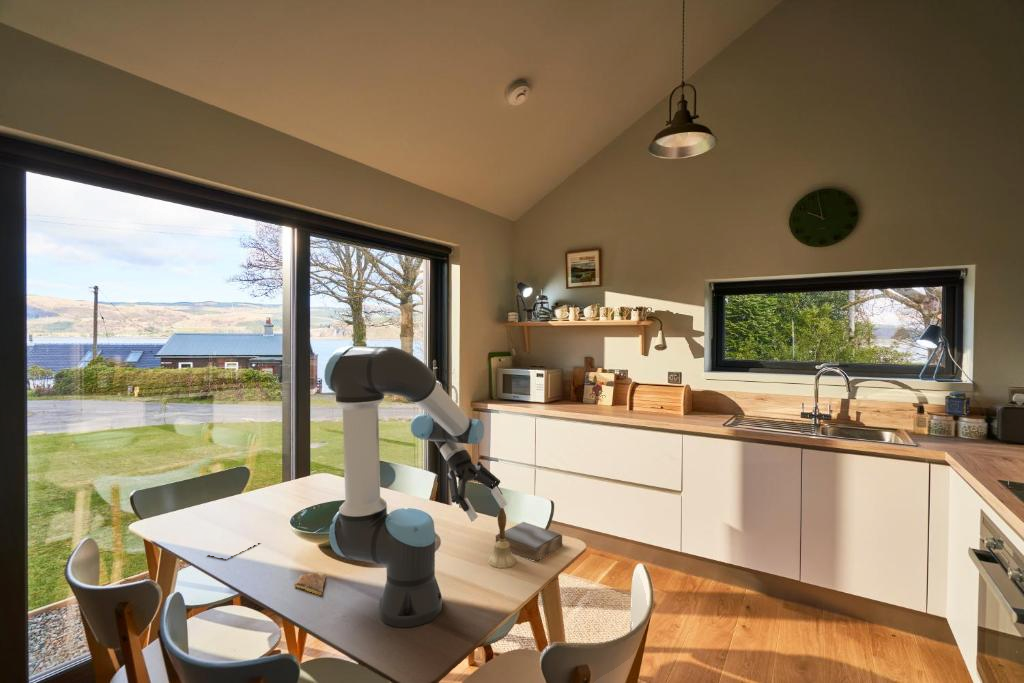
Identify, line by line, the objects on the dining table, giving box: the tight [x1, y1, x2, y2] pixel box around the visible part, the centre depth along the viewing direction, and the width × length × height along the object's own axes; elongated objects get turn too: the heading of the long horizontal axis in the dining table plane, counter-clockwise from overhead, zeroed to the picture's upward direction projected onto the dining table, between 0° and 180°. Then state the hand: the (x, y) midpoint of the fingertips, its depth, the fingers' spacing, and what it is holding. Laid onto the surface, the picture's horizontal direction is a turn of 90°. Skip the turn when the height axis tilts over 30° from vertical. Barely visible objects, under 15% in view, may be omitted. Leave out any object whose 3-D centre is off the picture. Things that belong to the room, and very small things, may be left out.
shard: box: [293, 572, 326, 596], centre depth 128 cm, size 11×8×2 cm
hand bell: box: [487, 507, 517, 569], centre depth 142 cm, size 8×8×16 cm
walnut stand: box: [495, 521, 563, 562], centre depth 152 cm, size 14×16×4 cm
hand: (490, 512), depth 147 cm, fingers open, 13 cm apart
